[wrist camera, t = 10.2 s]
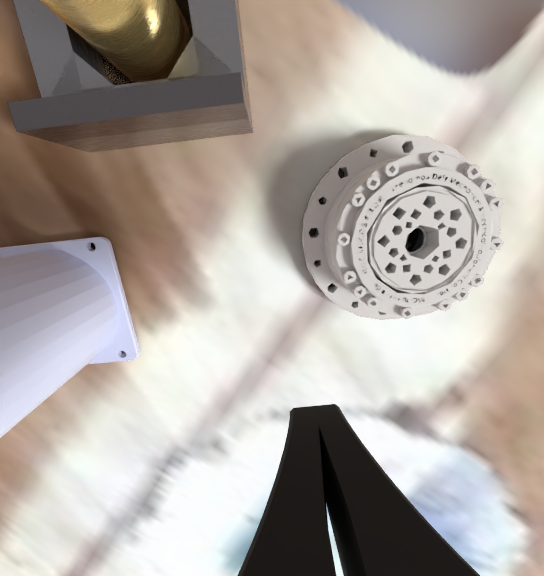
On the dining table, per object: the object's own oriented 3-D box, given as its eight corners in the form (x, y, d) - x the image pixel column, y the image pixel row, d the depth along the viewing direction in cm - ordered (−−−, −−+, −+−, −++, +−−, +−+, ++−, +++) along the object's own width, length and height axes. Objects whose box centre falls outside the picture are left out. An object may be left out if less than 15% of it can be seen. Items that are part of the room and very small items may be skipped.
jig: (89, 152, 15) (16, 131, 11) (32, -63, 13) (-92, -201, 8) (252, 132, 15) (244, 102, 11) (227, -93, 12) (202, -252, 8)
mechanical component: (403, 96, 15) (266, 229, 17) (456, 52, 10) (263, 237, 12) (502, 236, 17) (369, 340, 19) (580, 247, 12) (397, 379, 14)
